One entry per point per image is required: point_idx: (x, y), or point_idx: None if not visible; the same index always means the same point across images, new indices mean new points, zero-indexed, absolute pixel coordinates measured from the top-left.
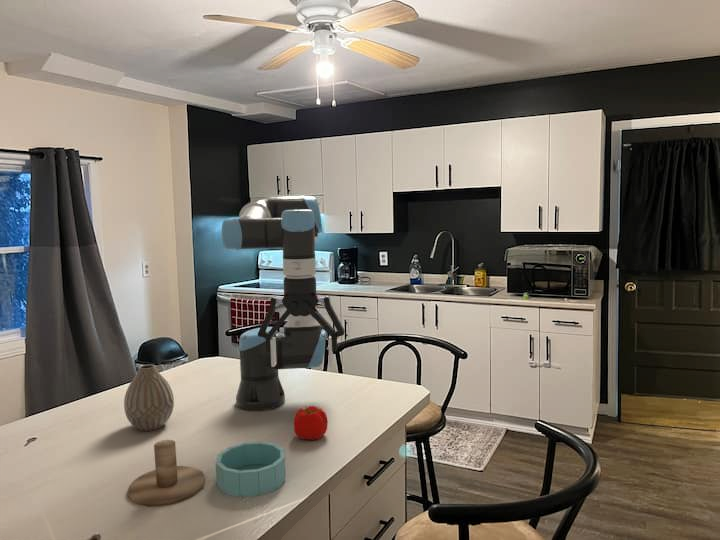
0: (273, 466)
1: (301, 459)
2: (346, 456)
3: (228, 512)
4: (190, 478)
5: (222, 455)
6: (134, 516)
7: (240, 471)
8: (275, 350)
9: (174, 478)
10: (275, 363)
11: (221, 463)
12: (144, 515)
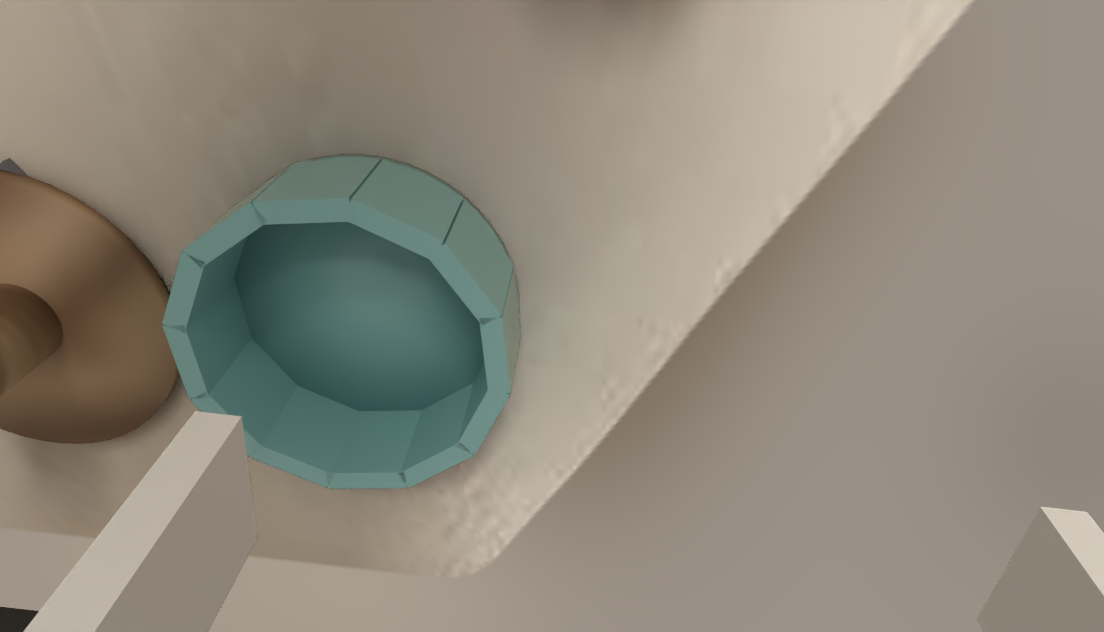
0: (467, 457)
1: (589, 113)
2: (845, 107)
3: None
4: (98, 297)
5: (187, 326)
6: (38, 465)
7: (331, 479)
8: (134, 628)
9: (43, 354)
10: (239, 499)
11: (219, 407)
12: (68, 464)
